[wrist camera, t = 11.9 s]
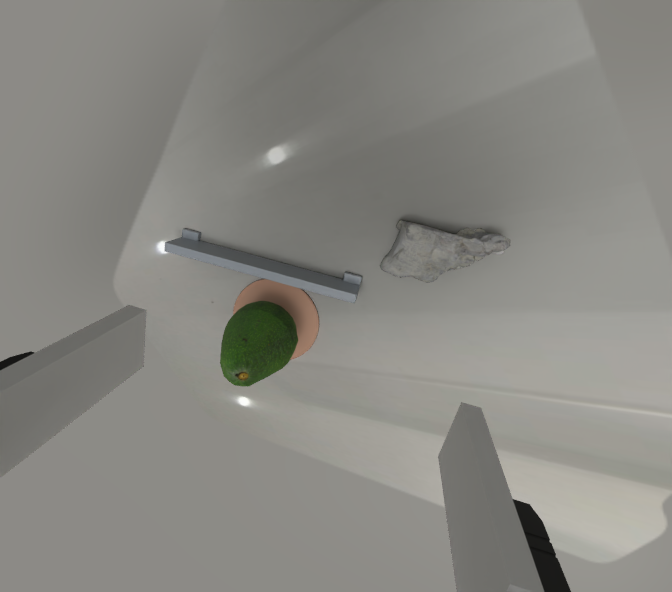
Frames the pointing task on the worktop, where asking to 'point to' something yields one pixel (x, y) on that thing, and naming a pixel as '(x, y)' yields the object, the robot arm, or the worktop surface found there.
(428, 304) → the worktop surface
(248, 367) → the fruit
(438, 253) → the stone
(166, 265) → the worktop surface
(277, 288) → the saucer
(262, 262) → the acrylic wall
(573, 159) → the worktop surface
